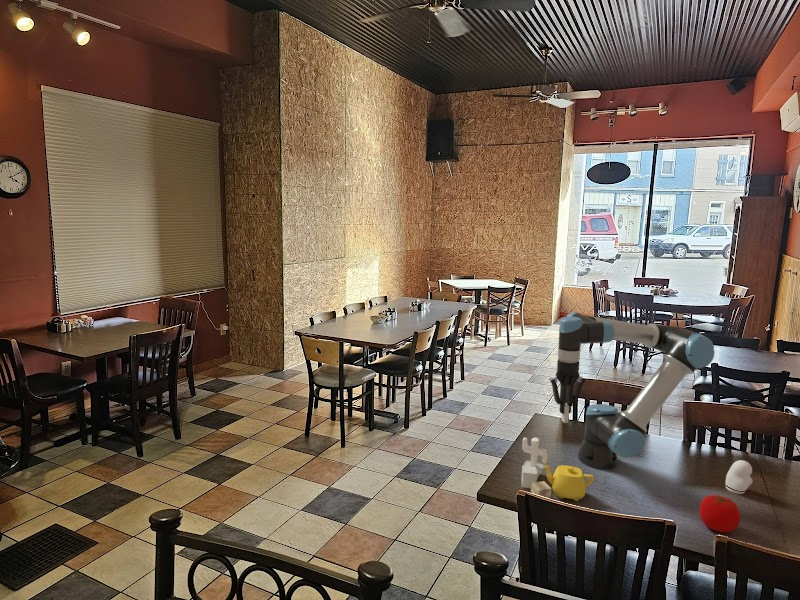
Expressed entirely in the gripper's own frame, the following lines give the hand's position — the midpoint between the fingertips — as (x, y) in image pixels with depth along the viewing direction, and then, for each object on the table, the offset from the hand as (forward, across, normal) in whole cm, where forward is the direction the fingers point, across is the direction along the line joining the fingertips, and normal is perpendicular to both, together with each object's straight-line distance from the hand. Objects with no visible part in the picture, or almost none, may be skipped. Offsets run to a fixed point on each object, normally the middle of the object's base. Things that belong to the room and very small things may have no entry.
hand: (564, 421), depth 194 cm
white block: (+24, +13, +2) cm, 27 cm away
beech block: (+24, +12, +11) cm, 29 cm away
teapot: (+24, +2, +9) cm, 26 cm away
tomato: (+25, -41, +30) cm, 57 cm away
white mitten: (+26, -64, +9) cm, 69 cm away
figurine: (+24, +9, -4) cm, 26 cm away
